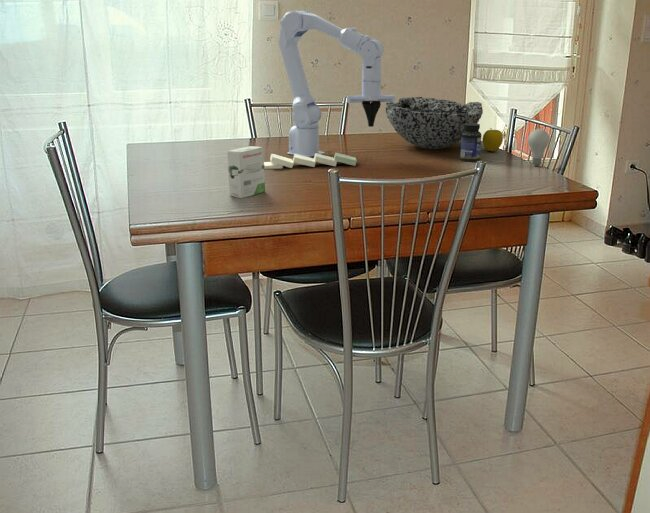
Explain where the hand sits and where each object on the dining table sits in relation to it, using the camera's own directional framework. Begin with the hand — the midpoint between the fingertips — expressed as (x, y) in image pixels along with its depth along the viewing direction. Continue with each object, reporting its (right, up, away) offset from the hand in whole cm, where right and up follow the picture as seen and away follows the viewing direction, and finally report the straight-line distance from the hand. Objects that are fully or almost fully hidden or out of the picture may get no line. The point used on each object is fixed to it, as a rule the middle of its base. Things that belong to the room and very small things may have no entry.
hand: (370, 126), depth 223 cm
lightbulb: (+49, -14, -8) cm, 51 cm away
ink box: (-34, -24, -37) cm, 56 cm away
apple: (+40, -6, +13) cm, 43 cm away
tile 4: (-11, -12, -5) cm, 17 cm away
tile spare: (-5, -12, -5) cm, 13 cm away
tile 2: (-24, -12, -7) cm, 28 cm away
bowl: (+22, -4, +20) cm, 30 cm away
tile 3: (-17, -12, -6) cm, 22 cm away
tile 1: (-27, -13, -6) cm, 31 cm away
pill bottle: (+31, -10, +1) cm, 33 cm away
